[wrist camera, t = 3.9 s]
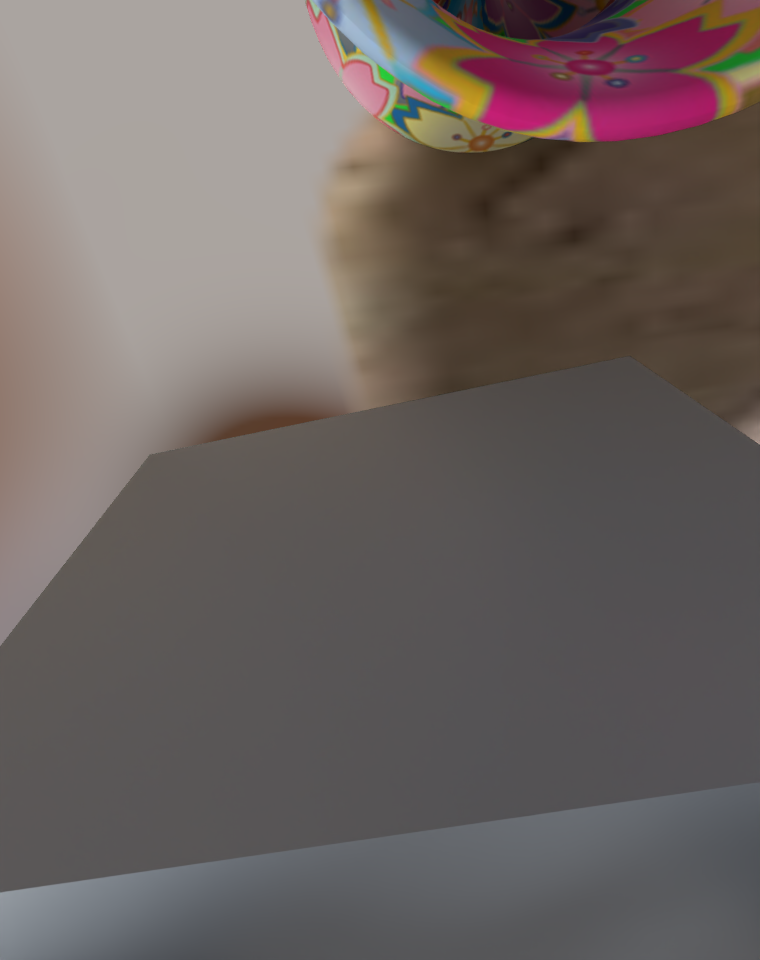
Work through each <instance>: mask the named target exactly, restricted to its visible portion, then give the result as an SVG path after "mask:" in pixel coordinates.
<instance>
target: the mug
mask: <svg viewBox="0 0 760 960" xmlns="http://www.w3.org/2000/svg"><path fill="white" fill-rule="evenodd" d="M305 2H306V5H307V8H308V12H309V15H310V19H311V21H312V24H313V26H314V29H315V32H316V34H317V37H318V39H319V42H320V44H321V46H322V48H323V50H324V52H325V54H326V56H327V58H328V60H329V61H330V63H331V65H332V67H333V68H334V70H335V72H336V73H337V75H338V76H339V78H340V79H341V81H342V82H343V83H344V84H345V86H346V87H347V89H348V90H349V92H350V93H351V94H352V95H353V96H354V97H355V98H356V99H357V101H358V102H359V103H360V104H361V105H362V106H363V107H364V108H365V109H366V110H367V111H368V112H370V113H371V114H372V115H373V116H374V117H375V118H376V119H378V120H379V121H380V122H382V123H383V124H384V125H386V126H387V127H388V128H390V129H392V130H393V131H395V132H397V133H398V134H400V135H402V136H403V137H406V138H408V139H410V140H412V141H414V142H416V143H419V144H422V145H425V146H428V147H431V148H435V149H440V150H445V151H451V152H461V153H476V152H487V151H494V150H499V149H503V148H507V147H511V146H514V145H517V144H520V143H522V142H525V141H528V140H530V139H532V138H534V137H537V138H541V139H552V140H563V141H573V142H602V141H622V140H629V139H637V138H644V137H652V136H658V135H662V134H666V133H670V132H674V131H678V130H683V129H687V128H691V127H695V126H699V125H702V124H705V123H708V122H710V121H713V120H716V119H719V118H722V117H725V116H727V115H730V114H733V113H736V112H739V111H741V110H743V109H745V108H747V107H750V106H752V105H754V104H756V103H758V102H760V0H305Z"/></svg>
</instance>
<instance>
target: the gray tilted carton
mask: <svg viewBox="0 0 760 960" xmlns="http://www.w3.org/2000/svg"><path fill="white" fill-rule="evenodd" d="M0 960H760V445H759V444H758V443H756V442H755V441H753V440H752V439H750V438H749V437H748V436H746V435H745V434H743V433H742V432H740V431H739V430H737V429H736V428H734V427H733V426H731V425H730V424H729V423H727V422H726V421H724V420H723V419H721V418H720V417H718V416H717V415H715V414H714V413H712V412H711V411H710V410H708V409H707V408H705V407H704V406H702V405H701V404H699V403H698V402H696V401H695V400H693V399H692V398H691V397H689V396H688V395H686V394H685V393H683V392H682V391H680V390H679V389H677V388H676V387H675V386H673V385H672V384H670V383H669V382H667V381H666V380H664V379H663V378H661V377H660V376H658V375H657V374H656V373H654V372H653V371H651V370H650V369H648V368H647V367H645V366H644V365H642V364H641V363H639V362H638V361H637V360H635V359H634V358H632V357H631V356H627V357H622V358H617V359H612V360H607V361H603V362H598V363H593V364H588V365H583V366H578V367H573V368H569V369H564V370H559V371H554V372H549V373H544V374H539V375H535V376H530V377H525V378H520V379H515V380H510V381H505V382H501V383H496V384H491V385H486V386H481V387H476V388H471V389H467V390H462V391H457V392H452V393H447V394H442V395H437V396H433V397H428V398H423V399H418V400H413V401H408V402H403V403H399V404H394V405H389V406H384V407H379V408H374V409H369V410H365V411H360V412H355V413H350V414H345V415H340V416H335V417H331V418H326V419H322V420H316V421H311V422H307V423H302V424H297V425H292V426H287V427H282V428H277V429H273V430H268V431H263V432H258V433H253V434H248V435H243V436H238V437H234V438H229V439H224V440H219V441H215V442H210V443H204V444H200V445H195V446H190V447H185V448H180V449H175V450H170V451H166V452H161V453H156V454H152V455H149V456H148V458H147V459H146V460H145V462H144V463H143V464H142V465H141V467H140V468H139V469H138V471H137V472H136V473H135V474H134V476H133V477H132V478H131V480H130V481H129V482H128V483H127V485H126V486H125V487H124V488H123V490H122V491H121V492H120V494H119V495H118V496H117V497H116V499H115V500H114V501H113V503H112V504H111V505H110V507H109V508H108V509H107V510H106V512H105V513H104V514H103V516H102V517H101V518H100V519H99V520H98V522H97V523H96V524H95V526H94V527H93V528H92V530H91V531H90V532H89V533H88V535H87V536H86V537H85V538H84V540H83V541H82V543H81V544H80V545H79V546H78V547H77V549H76V550H75V551H74V552H73V554H72V555H71V557H70V558H69V559H68V560H67V562H66V563H65V564H64V565H63V567H62V568H61V569H60V571H59V572H58V573H57V574H56V576H55V577H54V578H53V579H52V581H51V582H50V583H49V585H48V586H47V587H46V588H45V590H44V591H43V592H42V593H41V595H40V596H39V597H38V599H37V600H36V601H35V602H34V604H33V605H32V606H31V608H30V609H29V610H28V612H27V613H26V614H25V615H24V616H23V618H22V619H21V620H20V622H19V623H18V624H17V625H16V627H15V628H14V629H13V631H12V632H11V633H10V634H9V636H8V637H7V639H6V640H5V641H4V642H3V643H2V645H1V646H0Z"/></svg>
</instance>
